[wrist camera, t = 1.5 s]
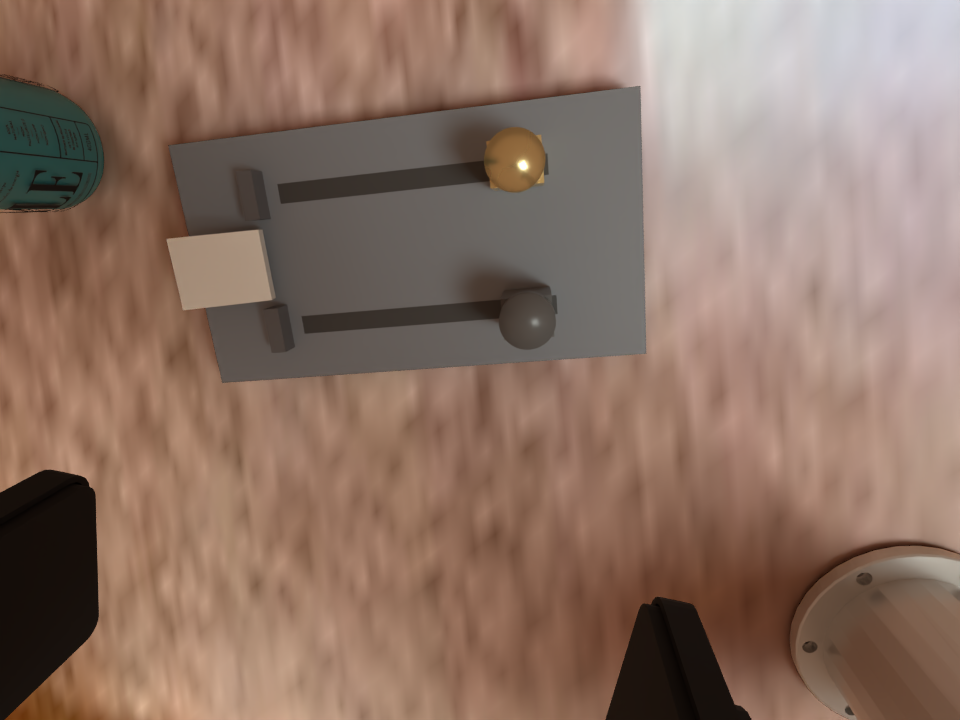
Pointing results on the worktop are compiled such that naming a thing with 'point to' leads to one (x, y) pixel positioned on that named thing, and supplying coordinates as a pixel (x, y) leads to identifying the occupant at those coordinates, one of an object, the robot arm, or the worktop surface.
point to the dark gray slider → (527, 317)
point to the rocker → (221, 269)
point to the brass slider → (515, 160)
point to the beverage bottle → (45, 149)
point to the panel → (426, 237)
